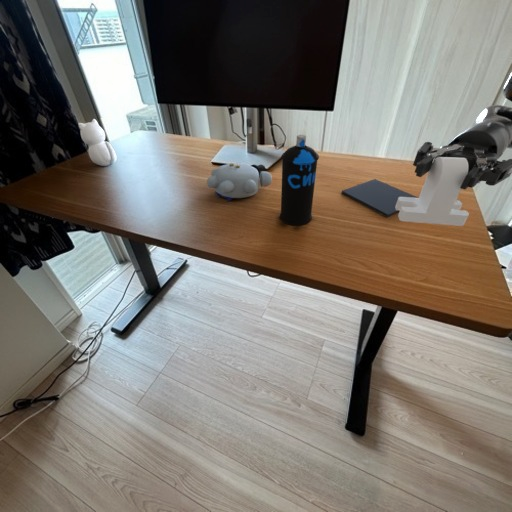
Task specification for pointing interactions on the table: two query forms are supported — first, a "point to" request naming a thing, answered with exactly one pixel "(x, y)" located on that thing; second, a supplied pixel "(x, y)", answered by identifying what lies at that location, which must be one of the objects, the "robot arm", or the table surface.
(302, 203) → the aerosol can
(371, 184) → the felt mat
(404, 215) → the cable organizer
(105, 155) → the cat figurine
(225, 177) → the figurine
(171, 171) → the table surface
